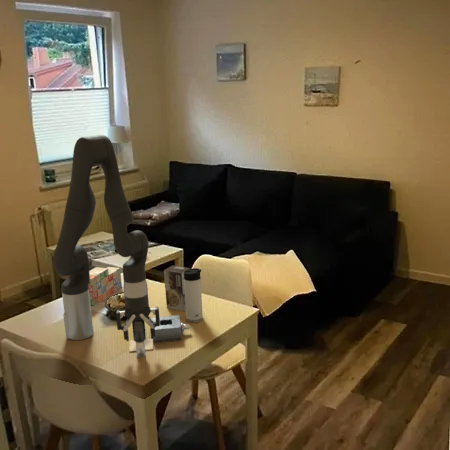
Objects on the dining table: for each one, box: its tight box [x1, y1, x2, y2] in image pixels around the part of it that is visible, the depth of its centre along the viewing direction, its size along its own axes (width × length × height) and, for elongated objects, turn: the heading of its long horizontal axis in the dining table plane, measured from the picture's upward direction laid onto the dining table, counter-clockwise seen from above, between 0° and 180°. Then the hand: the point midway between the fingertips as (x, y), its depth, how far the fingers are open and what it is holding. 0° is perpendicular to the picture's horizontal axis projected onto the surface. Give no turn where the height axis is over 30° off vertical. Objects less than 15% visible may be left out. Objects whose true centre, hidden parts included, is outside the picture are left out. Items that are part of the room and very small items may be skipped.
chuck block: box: [151, 314, 191, 344], centre depth 190 cm, size 13×10×5 cm
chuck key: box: [131, 321, 147, 359], centre depth 175 cm, size 4×4×13 cm
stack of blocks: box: [88, 266, 123, 307], centre depth 227 cm, size 21×6×12 cm, turn 159°
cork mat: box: [128, 337, 154, 353], centre depth 184 cm, size 8×8×1 cm
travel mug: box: [184, 268, 204, 323], centre depth 200 cm, size 6×7×20 cm
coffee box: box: [163, 265, 192, 312], centre depth 212 cm, size 9×6×16 cm
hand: (140, 338), depth 175 cm, fingers open, 7 cm apart
